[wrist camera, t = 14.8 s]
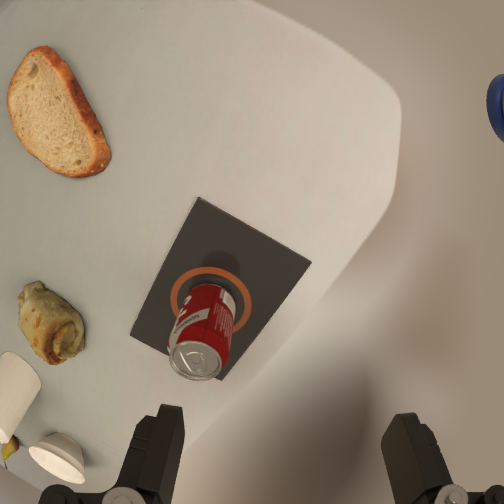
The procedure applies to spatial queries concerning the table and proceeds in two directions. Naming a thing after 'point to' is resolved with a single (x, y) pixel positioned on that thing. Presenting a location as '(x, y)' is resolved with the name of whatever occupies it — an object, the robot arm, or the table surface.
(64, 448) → the bowl
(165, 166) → the table surface
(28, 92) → the slice of bread
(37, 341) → the pastry
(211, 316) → the soda can
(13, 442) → the fruit
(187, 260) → the hob mat
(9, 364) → the bottle
